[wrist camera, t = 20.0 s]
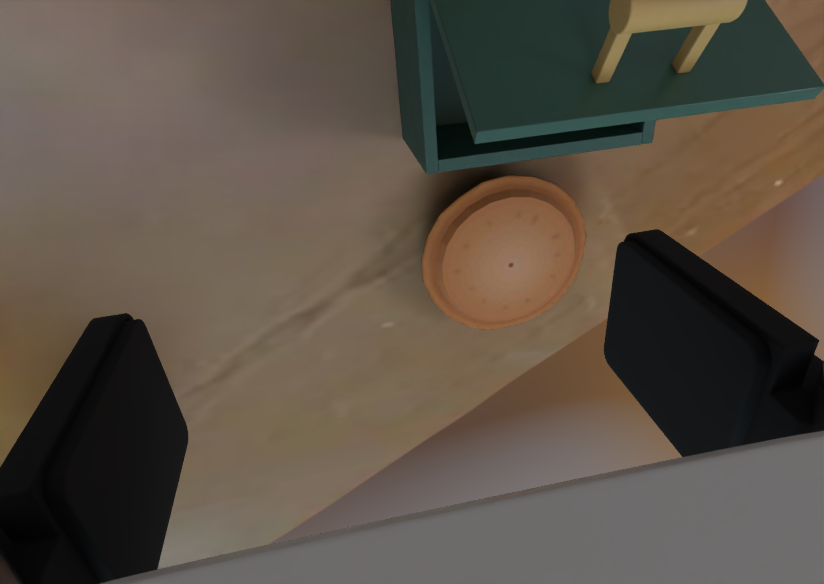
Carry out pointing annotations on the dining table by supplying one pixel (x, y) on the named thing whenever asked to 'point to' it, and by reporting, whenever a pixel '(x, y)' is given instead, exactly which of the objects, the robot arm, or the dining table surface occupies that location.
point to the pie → (504, 252)
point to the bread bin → (444, 114)
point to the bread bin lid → (614, 62)
